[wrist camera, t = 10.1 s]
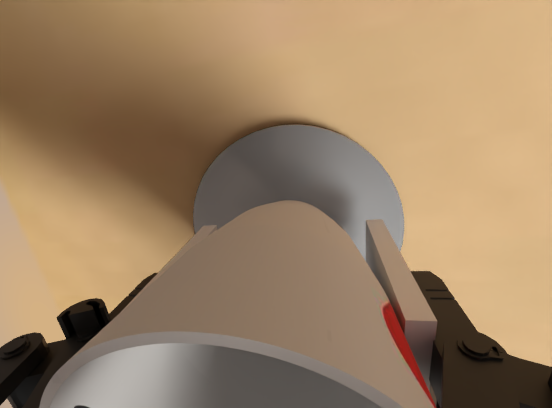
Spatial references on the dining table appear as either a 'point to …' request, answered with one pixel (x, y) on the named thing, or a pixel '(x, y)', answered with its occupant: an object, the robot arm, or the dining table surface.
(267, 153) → the slate coaster
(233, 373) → the cup
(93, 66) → the dining table surface
